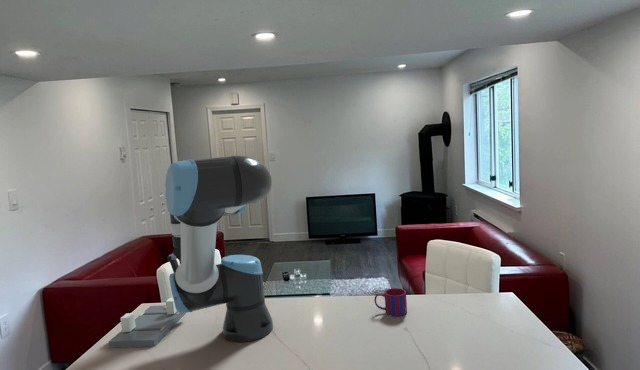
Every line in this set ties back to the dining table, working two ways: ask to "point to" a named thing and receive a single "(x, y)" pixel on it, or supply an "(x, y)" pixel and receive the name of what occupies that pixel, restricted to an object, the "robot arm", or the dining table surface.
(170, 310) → the block
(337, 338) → the dining table surface
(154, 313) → the breaker panel
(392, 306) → the mug
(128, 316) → the block
